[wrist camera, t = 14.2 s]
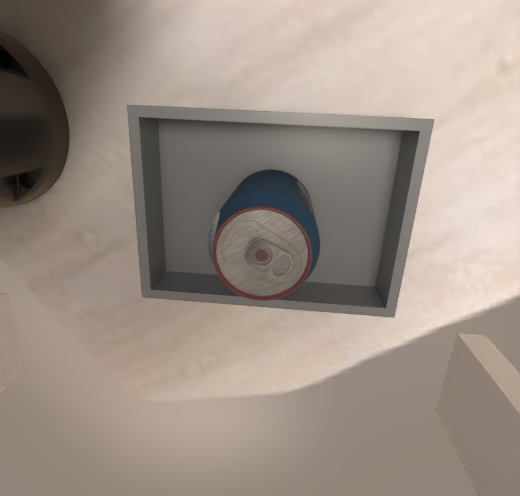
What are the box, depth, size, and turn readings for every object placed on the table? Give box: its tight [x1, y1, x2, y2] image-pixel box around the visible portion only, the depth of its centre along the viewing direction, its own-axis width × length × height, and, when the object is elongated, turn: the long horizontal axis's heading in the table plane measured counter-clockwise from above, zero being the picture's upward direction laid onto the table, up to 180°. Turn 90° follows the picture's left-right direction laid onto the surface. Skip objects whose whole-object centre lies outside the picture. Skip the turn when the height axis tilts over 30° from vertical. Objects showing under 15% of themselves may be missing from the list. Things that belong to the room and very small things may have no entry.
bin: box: [127, 105, 434, 317], centre depth 30 cm, size 22×16×5 cm
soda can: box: [208, 170, 320, 301], centre depth 26 cm, size 7×7×12 cm
